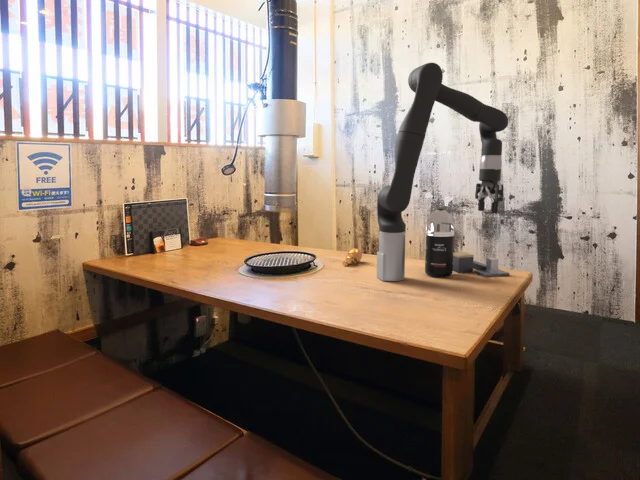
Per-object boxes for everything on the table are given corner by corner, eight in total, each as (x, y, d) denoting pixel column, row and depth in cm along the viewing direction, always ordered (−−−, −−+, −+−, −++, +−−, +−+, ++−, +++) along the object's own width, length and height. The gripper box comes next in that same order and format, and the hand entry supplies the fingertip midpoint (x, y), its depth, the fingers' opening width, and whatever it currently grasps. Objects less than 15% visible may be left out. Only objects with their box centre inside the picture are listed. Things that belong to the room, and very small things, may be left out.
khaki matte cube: (458, 273, 168) (459, 255, 167) (450, 269, 174) (451, 252, 173) (472, 272, 169) (473, 254, 168) (464, 269, 175) (465, 252, 174)
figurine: (335, 264, 183) (346, 253, 193) (346, 274, 183) (356, 263, 193) (348, 251, 179) (358, 241, 189) (358, 262, 178) (368, 251, 189)
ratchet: (484, 277, 161) (485, 261, 161) (461, 267, 177) (461, 252, 176) (509, 275, 164) (510, 259, 163) (483, 266, 180) (484, 251, 179)
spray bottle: (454, 278, 160) (457, 209, 156) (424, 277, 162) (426, 208, 158) (451, 272, 170) (454, 206, 166) (423, 271, 172) (425, 206, 168)
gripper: (470, 168, 171) (468, 210, 173) (492, 167, 157) (489, 213, 159) (488, 168, 172) (485, 210, 175) (511, 168, 158) (508, 213, 161)
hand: (487, 211), depth 167 cm, fingers open, 8 cm apart
